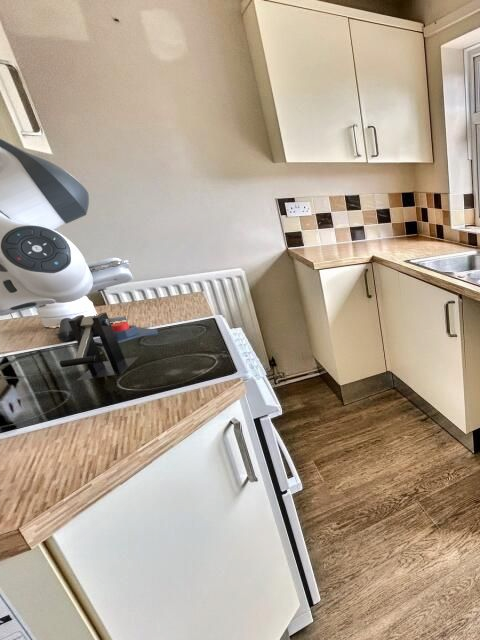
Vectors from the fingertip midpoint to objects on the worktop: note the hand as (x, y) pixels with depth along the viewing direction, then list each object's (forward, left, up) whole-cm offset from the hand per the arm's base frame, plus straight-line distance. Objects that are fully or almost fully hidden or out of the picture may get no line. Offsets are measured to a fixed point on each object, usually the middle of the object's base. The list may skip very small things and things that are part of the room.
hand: (70, 294), depth 85 cm
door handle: (+22, +49, -20) cm, 58 cm away
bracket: (+4, +6, -20) cm, 21 cm away
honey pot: (+25, +67, -20) cm, 75 cm away
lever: (+1, +4, -12) cm, 12 cm away
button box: (+19, +28, -20) cm, 40 cm away
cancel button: (+19, +28, -17) cm, 38 cm away
